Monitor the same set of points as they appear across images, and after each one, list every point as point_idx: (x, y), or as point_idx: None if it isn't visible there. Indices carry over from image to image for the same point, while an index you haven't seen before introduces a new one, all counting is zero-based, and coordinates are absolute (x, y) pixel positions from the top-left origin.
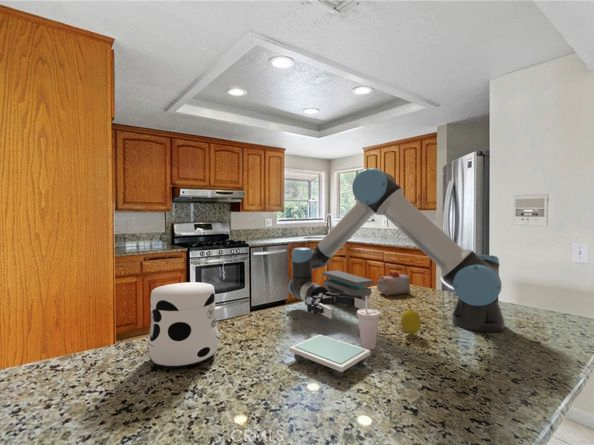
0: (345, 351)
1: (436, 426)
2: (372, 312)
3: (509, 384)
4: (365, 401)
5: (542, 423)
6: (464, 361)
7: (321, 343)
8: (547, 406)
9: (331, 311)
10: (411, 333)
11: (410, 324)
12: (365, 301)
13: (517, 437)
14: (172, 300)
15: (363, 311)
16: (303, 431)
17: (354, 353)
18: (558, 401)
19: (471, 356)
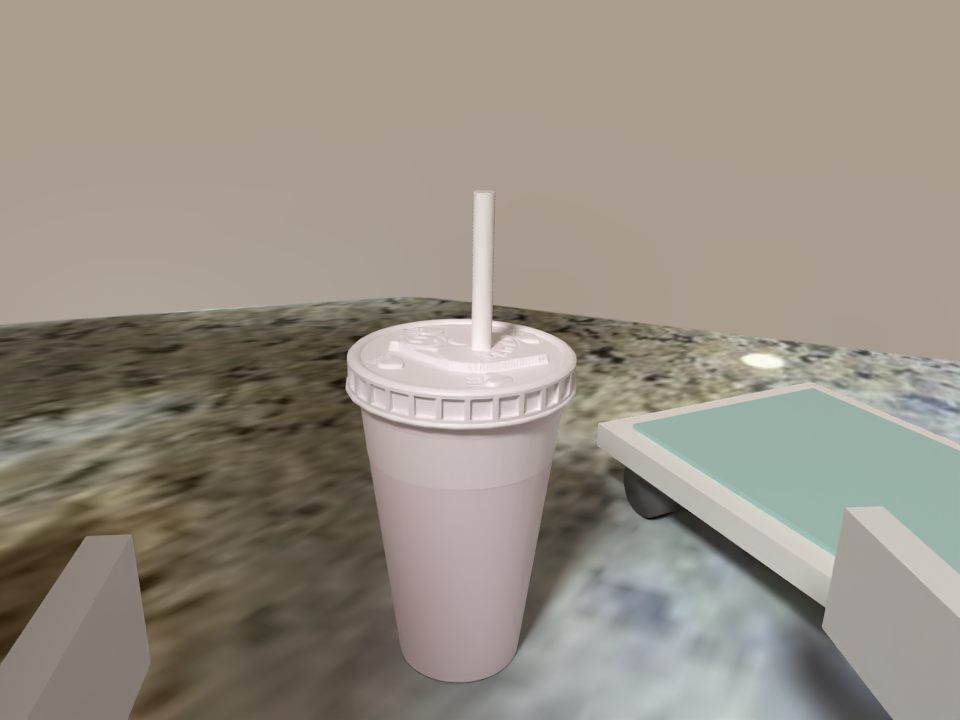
0: (760, 434)
1: (584, 329)
2: (441, 335)
3: (208, 346)
4: (733, 388)
5: (346, 302)
6: (131, 420)
7: (931, 523)
8: (257, 311)
9: (844, 544)
10: None
11: None
12: (493, 246)
13: (444, 300)
14: None
15: (510, 350)
16: (949, 369)
17: (711, 416)
18: (205, 312)
19: (37, 431)
